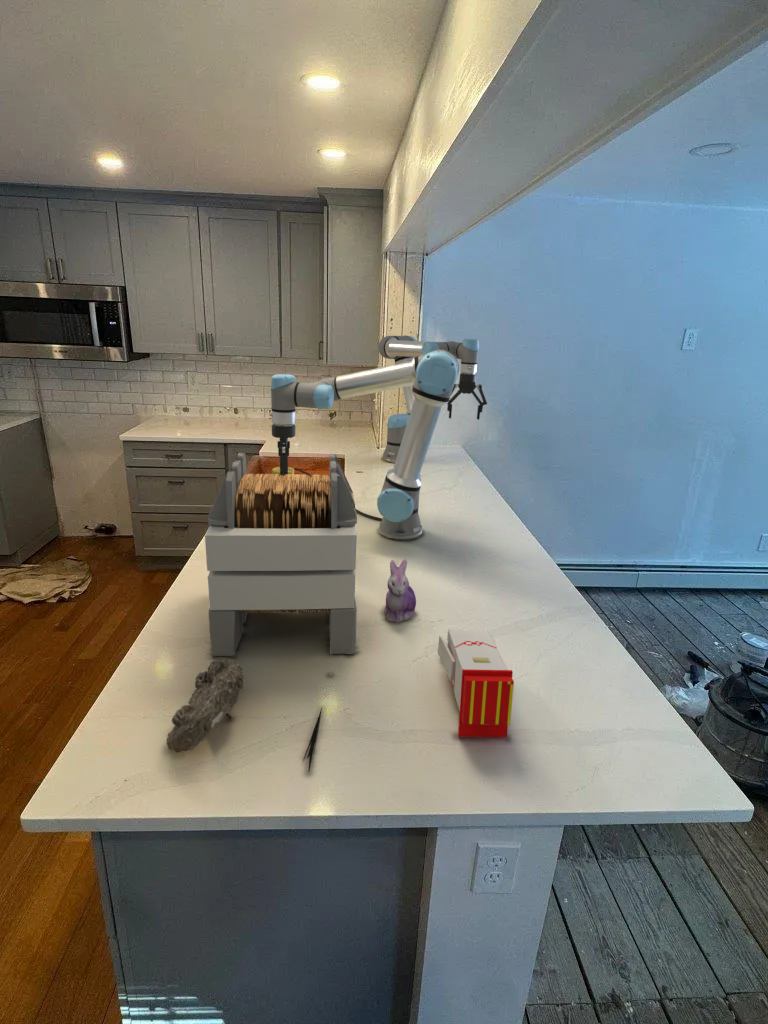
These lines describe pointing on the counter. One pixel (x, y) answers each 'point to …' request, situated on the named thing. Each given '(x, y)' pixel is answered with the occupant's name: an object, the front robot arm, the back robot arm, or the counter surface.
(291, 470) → the cylinder
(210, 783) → the counter surface
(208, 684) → the fossil
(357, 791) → the counter surface
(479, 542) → the counter surface
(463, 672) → the toy
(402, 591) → the figurine
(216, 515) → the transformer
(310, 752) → the feather
